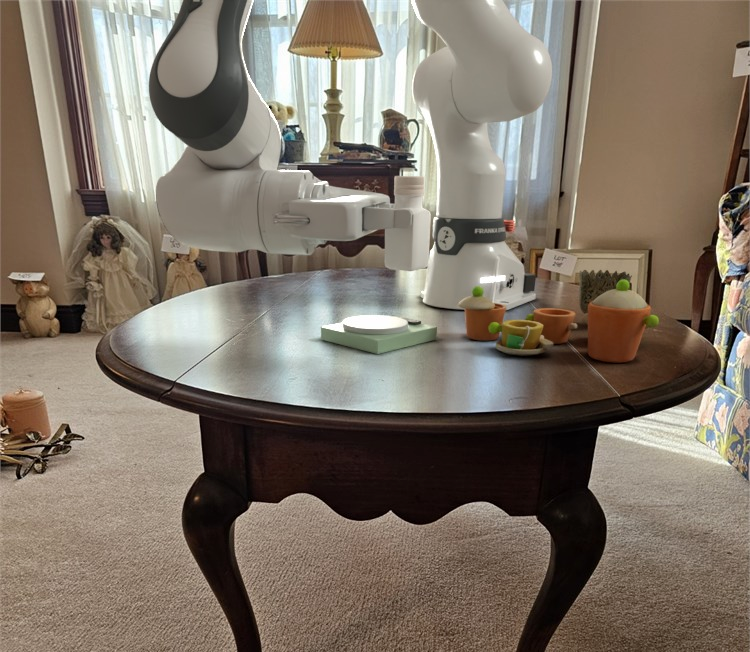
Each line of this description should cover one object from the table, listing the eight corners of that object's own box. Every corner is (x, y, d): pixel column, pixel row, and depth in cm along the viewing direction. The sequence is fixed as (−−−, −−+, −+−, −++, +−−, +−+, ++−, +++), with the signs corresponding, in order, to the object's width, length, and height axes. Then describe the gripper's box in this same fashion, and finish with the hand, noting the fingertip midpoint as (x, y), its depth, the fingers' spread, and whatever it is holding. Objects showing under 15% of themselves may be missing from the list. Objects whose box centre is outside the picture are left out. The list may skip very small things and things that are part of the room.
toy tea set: (641, 339, 94) (655, 268, 89) (663, 368, 80) (681, 286, 76) (458, 330, 98) (463, 262, 93) (450, 356, 84) (455, 277, 80)
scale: (380, 327, 99) (380, 309, 98) (436, 339, 92) (437, 320, 91) (320, 339, 91) (320, 320, 90) (377, 354, 84) (377, 334, 83)
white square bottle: (382, 269, 74) (383, 176, 70) (401, 265, 77) (403, 175, 73) (412, 272, 72) (415, 176, 68) (430, 268, 75) (434, 176, 71)
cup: (625, 333, 97) (635, 277, 94) (573, 330, 98) (582, 274, 95) (618, 323, 104) (628, 270, 100) (570, 320, 105) (578, 268, 101)
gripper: (262, 185, 64) (401, 187, 62) (319, 181, 82) (429, 183, 79) (266, 253, 67) (399, 258, 64) (320, 235, 85) (426, 238, 82)
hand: (416, 216), depth 72 cm, fingers closed on white square bottle, 5 cm apart
